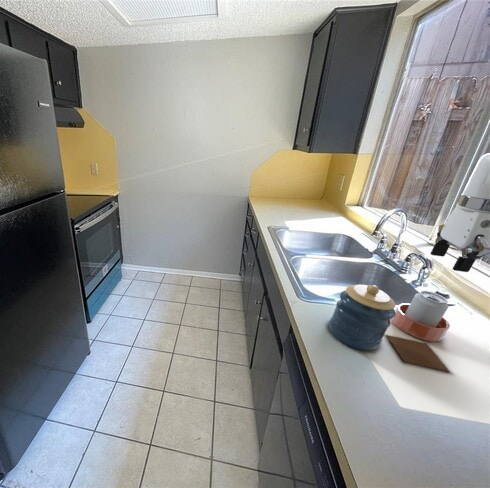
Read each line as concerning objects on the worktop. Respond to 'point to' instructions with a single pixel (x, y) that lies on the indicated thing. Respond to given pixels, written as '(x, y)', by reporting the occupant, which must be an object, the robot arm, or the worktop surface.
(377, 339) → the canister
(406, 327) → the bowl
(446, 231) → the robot arm
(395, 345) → the mat
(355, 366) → the worktop surface
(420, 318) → the can
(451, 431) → the worktop surface
